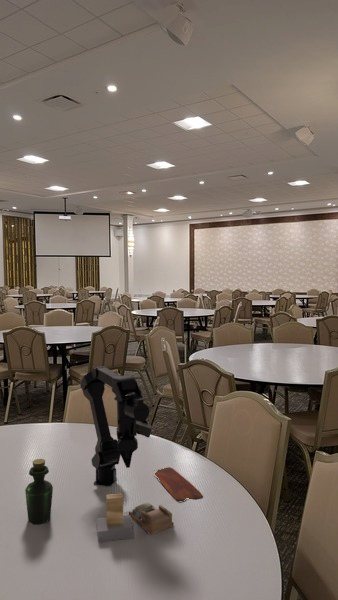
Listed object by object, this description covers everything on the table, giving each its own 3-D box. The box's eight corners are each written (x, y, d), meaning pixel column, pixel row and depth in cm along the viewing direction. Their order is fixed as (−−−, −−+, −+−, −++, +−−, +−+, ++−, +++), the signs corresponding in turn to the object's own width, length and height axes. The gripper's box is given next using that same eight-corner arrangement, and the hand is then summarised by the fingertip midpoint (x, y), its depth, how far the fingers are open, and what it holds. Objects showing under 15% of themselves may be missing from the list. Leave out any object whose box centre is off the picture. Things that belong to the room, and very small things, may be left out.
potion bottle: (54, 511, 142) (53, 455, 141) (51, 525, 134) (51, 466, 133) (27, 513, 141) (26, 456, 140) (23, 527, 133) (22, 467, 132)
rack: (128, 514, 140) (128, 502, 140) (151, 507, 145) (151, 495, 145) (150, 534, 130) (150, 520, 130) (173, 525, 134) (173, 512, 134)
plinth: (96, 528, 133) (96, 518, 133) (130, 524, 135) (130, 514, 135) (97, 542, 126) (97, 531, 126) (133, 537, 128) (133, 527, 128)
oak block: (106, 521, 131) (106, 494, 130) (122, 519, 132) (122, 493, 131) (106, 526, 128) (106, 498, 128) (123, 524, 129) (123, 497, 129)
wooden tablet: (204, 499, 152) (204, 494, 152) (177, 505, 148) (177, 500, 148) (173, 468, 176) (173, 463, 176) (149, 472, 172) (149, 467, 172)
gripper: (153, 421, 141) (154, 470, 141) (147, 407, 160) (148, 451, 160) (117, 423, 140) (118, 473, 140) (115, 409, 158) (117, 453, 158)
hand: (127, 462), depth 149 cm, fingers open, 9 cm apart
